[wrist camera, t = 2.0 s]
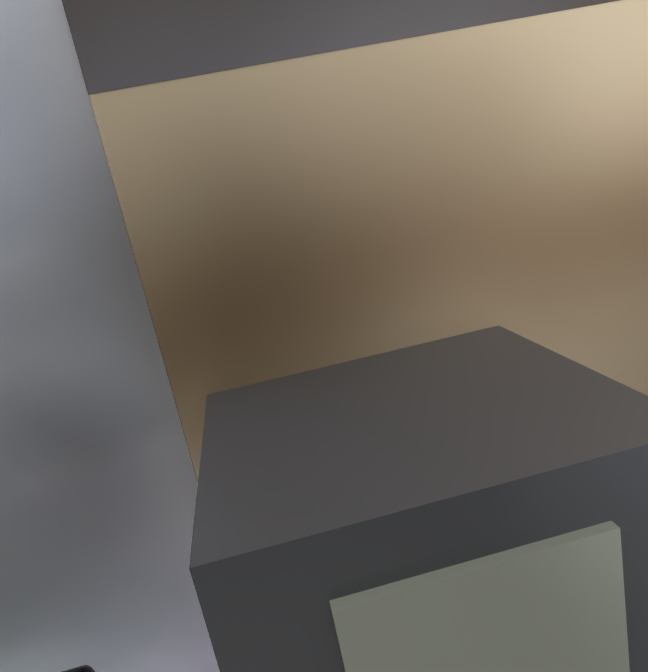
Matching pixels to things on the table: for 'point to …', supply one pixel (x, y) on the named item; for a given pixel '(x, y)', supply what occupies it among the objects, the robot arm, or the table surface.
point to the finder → (427, 515)
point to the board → (375, 178)
